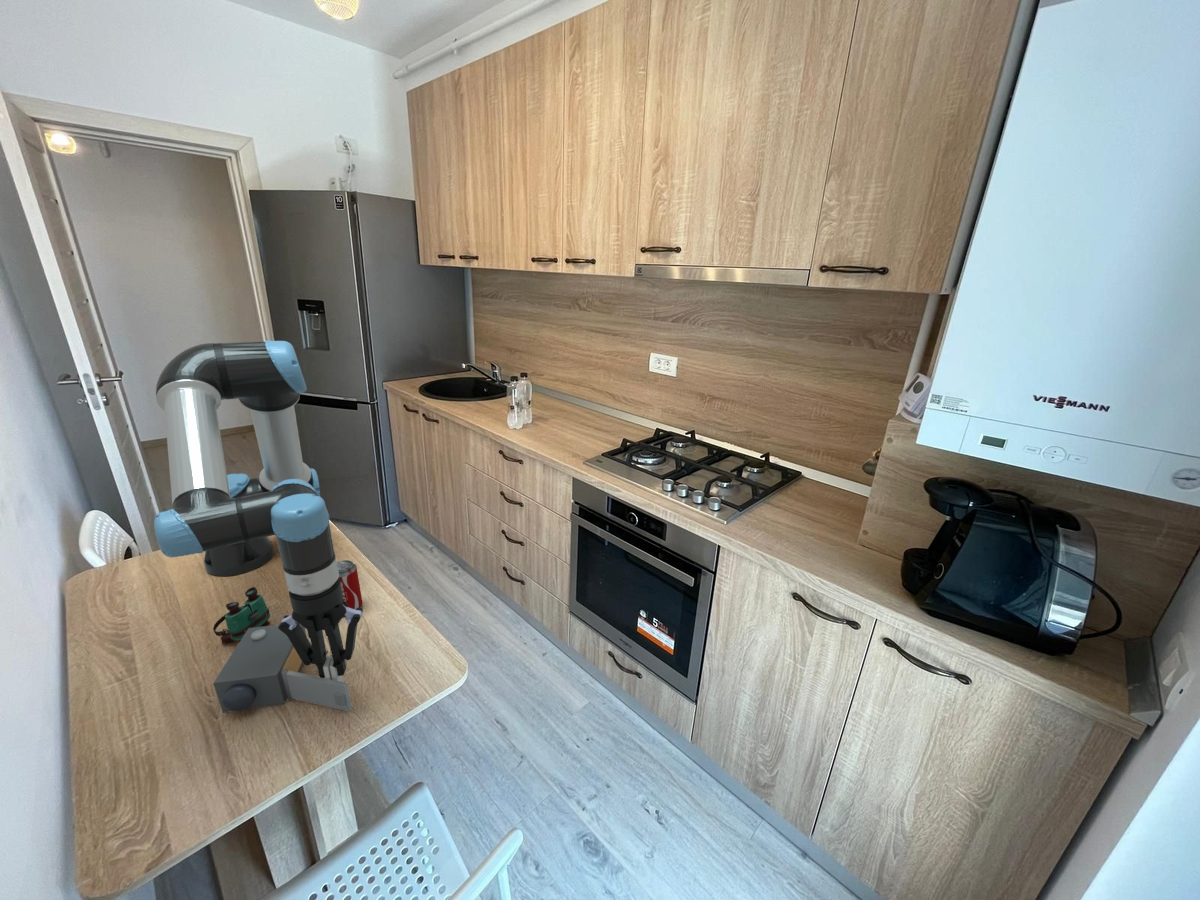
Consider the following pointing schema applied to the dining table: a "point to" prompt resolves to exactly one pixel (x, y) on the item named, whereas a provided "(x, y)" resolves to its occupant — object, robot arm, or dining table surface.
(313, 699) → the side door
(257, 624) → the binoculars
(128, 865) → the dining table surface
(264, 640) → the camera body
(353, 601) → the beverage can
